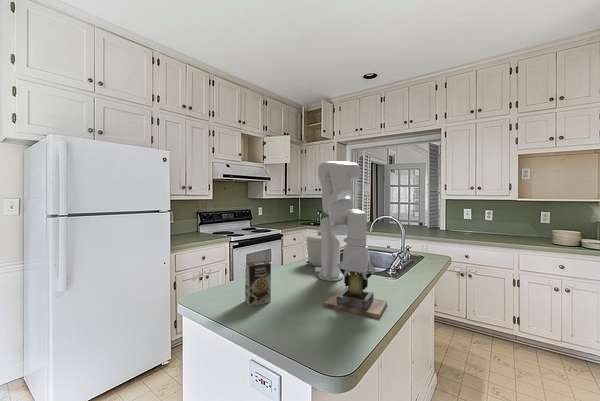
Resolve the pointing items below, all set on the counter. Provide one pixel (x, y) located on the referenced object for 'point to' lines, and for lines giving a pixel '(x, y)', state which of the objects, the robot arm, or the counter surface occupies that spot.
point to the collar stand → (356, 303)
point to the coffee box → (258, 283)
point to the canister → (314, 248)
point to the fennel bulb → (355, 283)
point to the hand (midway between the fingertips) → (355, 286)
